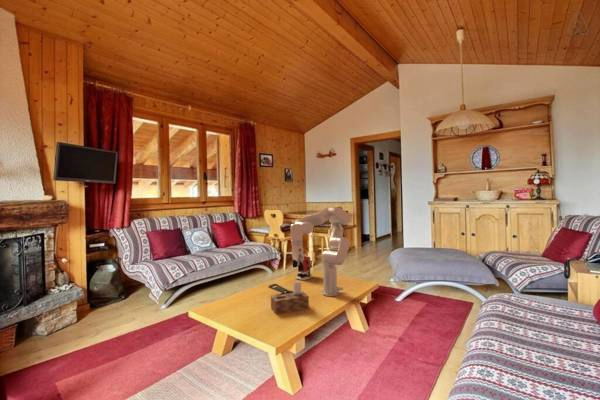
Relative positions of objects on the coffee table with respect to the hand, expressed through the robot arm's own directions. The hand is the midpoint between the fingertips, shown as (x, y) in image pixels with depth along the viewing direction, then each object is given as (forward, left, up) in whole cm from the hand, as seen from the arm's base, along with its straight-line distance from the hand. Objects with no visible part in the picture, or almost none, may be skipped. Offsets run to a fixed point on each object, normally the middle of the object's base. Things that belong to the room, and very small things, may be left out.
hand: (297, 268), depth 196 cm
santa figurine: (-27, -59, -25) cm, 70 cm away
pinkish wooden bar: (+1, +1, -21) cm, 21 cm away
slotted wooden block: (+7, +1, -25) cm, 25 cm away
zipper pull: (+3, -21, -25) cm, 33 cm away
